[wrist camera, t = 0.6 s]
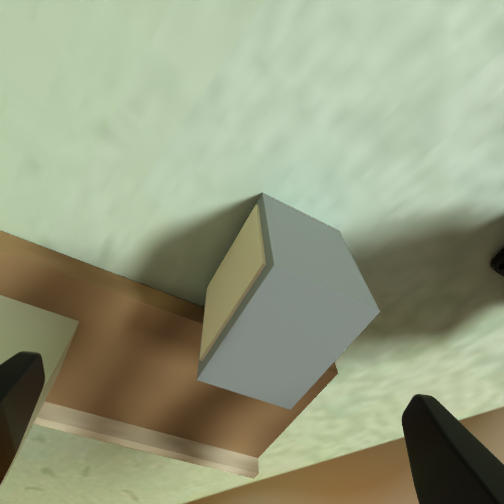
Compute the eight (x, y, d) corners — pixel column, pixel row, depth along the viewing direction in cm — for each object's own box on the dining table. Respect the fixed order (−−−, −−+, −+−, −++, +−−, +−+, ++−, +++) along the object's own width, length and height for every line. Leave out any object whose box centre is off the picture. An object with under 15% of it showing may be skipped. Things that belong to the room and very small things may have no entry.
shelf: (332, 356, 26) (342, 388, 24) (251, 446, 32) (253, 479, 29) (-39, 216, 20) (-75, 241, 17) (-61, 360, 25) (-91, 394, 23)
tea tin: (339, 230, 21) (380, 311, 15) (276, 314, 24) (290, 409, 18) (259, 190, 20) (270, 263, 14) (204, 285, 23) (193, 378, 17)
